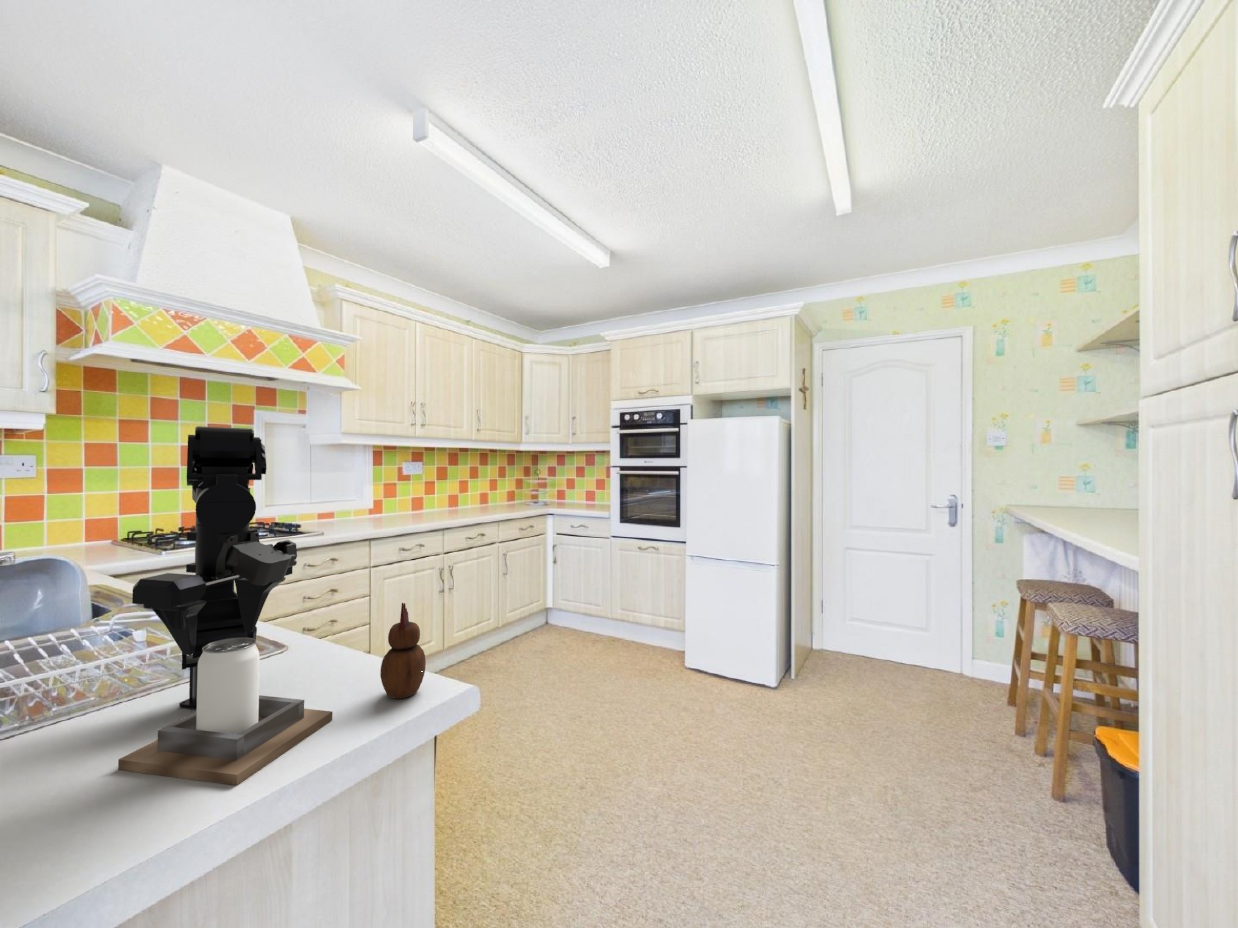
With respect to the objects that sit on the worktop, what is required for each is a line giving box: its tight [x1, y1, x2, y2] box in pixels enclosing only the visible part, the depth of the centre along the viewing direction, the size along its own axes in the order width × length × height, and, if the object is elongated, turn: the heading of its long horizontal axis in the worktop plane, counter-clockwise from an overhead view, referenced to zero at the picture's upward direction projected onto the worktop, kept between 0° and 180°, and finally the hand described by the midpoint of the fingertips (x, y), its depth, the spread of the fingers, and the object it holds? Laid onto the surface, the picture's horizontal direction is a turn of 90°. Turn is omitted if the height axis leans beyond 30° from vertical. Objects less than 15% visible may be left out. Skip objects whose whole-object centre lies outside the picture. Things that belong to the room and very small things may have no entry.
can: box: [196, 637, 261, 735], centre depth 70 cm, size 6×6×12 cm
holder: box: [117, 694, 333, 786], centre depth 71 cm, size 16×16×4 cm
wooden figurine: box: [379, 602, 427, 700], centre depth 87 cm, size 7×6×15 cm
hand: (220, 642), depth 72 cm, fingers open, 9 cm apart
